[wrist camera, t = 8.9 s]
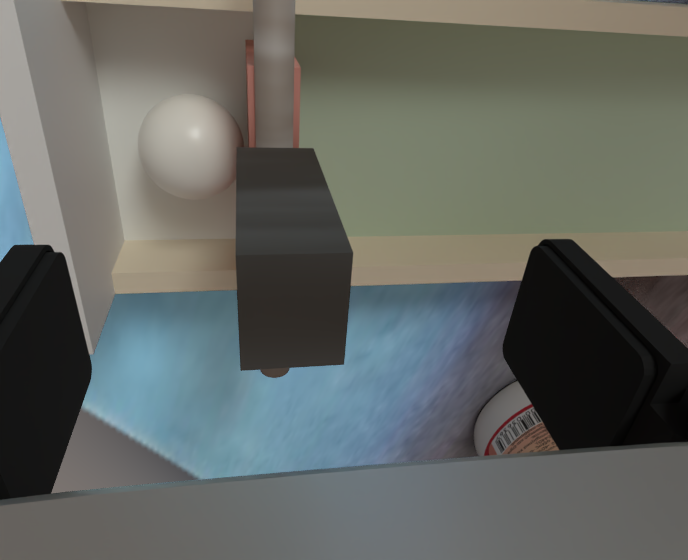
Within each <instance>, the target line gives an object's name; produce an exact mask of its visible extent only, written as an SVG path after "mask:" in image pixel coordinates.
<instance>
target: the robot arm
mask: <svg viewBox="0 0 688 560" xmlns="http://www.w3.org/2000/svg"><path fill="white" fill-rule="evenodd" d="M503 355H504V358H505V360H506V362H507V364H508V365H509V367H510V369H511V370H512V372H513V374H514V375H515V377H516V379H517V380H518V382H519V384H520V385H521V387H522V389H523V390H524V392H525V394H526V395H527V397H528V399H529V400H530V402H531V404H532V405H533V407H534V409H535V410H536V412H537V414H538V415H539V417H540V419H541V420H542V422H543V424H544V425H545V427H546V429H547V430H548V432H549V434H550V435H551V437H552V439H553V440H554V442H555V444H556V445H557V447H558V449H559V450H555V451H542V452H529V453H516V454H503V455H490V456H476V457H464V458H452V459H439V460H427V461H414V462H402V463H390V464H378V465H366V466H353V467H341V468H329V469H317V470H305V471H293V472H282V473H270V474H259V475H248V476H236V477H225V478H213V479H202V480H190V481H179V482H168V483H156V484H145V485H134V486H124V487H113V488H102V489H92V490H82V491H72V492H62V493H53V494H51V492H52V489H53V486H54V483H55V480H56V477H57V475H58V472H59V469H60V466H61V463H62V460H63V457H64V455H65V452H66V449H67V446H68V443H69V440H70V437H71V435H72V432H73V429H74V426H75V423H76V420H77V417H78V415H79V412H80V409H81V406H82V403H83V400H84V397H85V394H86V392H87V389H88V386H89V383H90V380H91V373H92V366H91V360H90V356H89V352H88V347H87V343H86V339H85V335H84V331H83V327H82V323H81V319H80V315H79V311H78V307H77V303H76V299H75V295H74V291H73V286H72V282H71V278H70V274H69V270H68V266H67V262H66V259H65V256H64V254H63V253H62V252H54V250H53V248H52V247H51V246H50V245H14V246H13V247H12V248H11V249H10V250H9V252H8V253H7V254H6V256H5V257H4V258H3V260H2V261H1V262H0V560H688V348H686V347H685V346H684V345H683V344H682V343H681V342H680V341H679V340H678V339H677V338H676V337H675V336H674V335H673V334H672V333H671V332H670V331H669V330H667V329H666V328H665V327H664V326H663V325H662V324H661V323H660V322H659V321H658V320H657V319H656V318H655V317H654V316H653V315H652V314H651V313H650V312H648V311H647V310H646V309H645V308H644V307H643V306H642V305H641V304H640V303H639V302H638V301H637V300H636V299H635V298H634V297H633V296H632V295H631V294H629V293H628V292H627V291H626V290H625V289H624V288H623V287H622V286H621V285H620V284H619V283H618V282H617V281H616V280H615V279H614V278H613V277H612V276H610V275H609V274H608V273H607V272H606V271H605V270H604V269H603V268H602V267H601V266H600V265H599V264H598V263H597V262H596V261H595V260H594V259H593V258H591V257H590V256H589V255H588V254H587V253H586V252H585V251H584V250H583V249H582V248H581V247H580V246H579V245H578V244H577V243H576V242H575V241H573V240H572V239H544V240H542V241H541V242H540V243H539V245H538V246H535V247H533V248H532V250H531V252H530V255H529V258H528V262H527V265H526V268H525V272H524V275H523V278H522V282H521V285H520V288H519V292H518V295H517V298H516V302H515V305H514V309H513V312H512V315H511V319H510V322H509V325H508V329H507V332H506V335H505V339H504V342H503Z"/></svg>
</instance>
